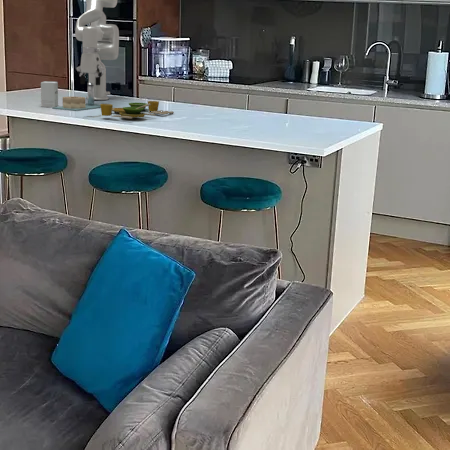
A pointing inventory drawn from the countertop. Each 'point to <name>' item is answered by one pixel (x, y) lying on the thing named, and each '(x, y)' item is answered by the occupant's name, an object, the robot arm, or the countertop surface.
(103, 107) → the tableware set
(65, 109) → the mat
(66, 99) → the tan box
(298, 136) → the countertop surface
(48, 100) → the supplement box
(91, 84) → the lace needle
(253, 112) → the countertop surface
